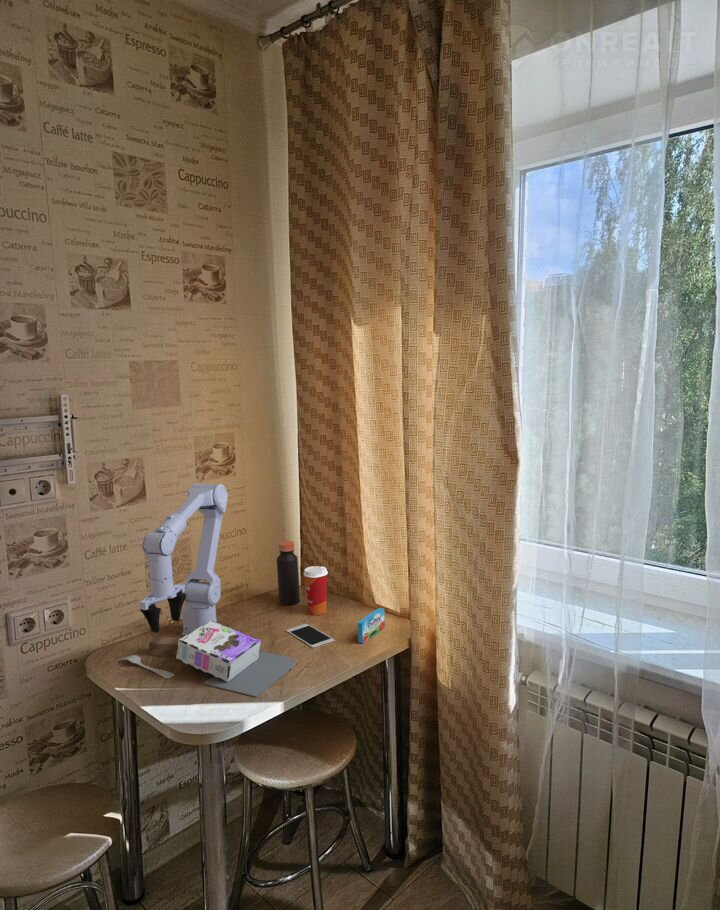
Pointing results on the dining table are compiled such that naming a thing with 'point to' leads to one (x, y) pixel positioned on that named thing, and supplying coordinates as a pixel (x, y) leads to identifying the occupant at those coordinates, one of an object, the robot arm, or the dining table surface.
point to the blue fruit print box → (371, 625)
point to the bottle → (288, 574)
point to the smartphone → (310, 635)
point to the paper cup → (316, 589)
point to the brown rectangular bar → (164, 646)
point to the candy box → (218, 650)
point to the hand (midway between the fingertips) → (165, 625)
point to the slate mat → (256, 675)
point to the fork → (137, 660)
